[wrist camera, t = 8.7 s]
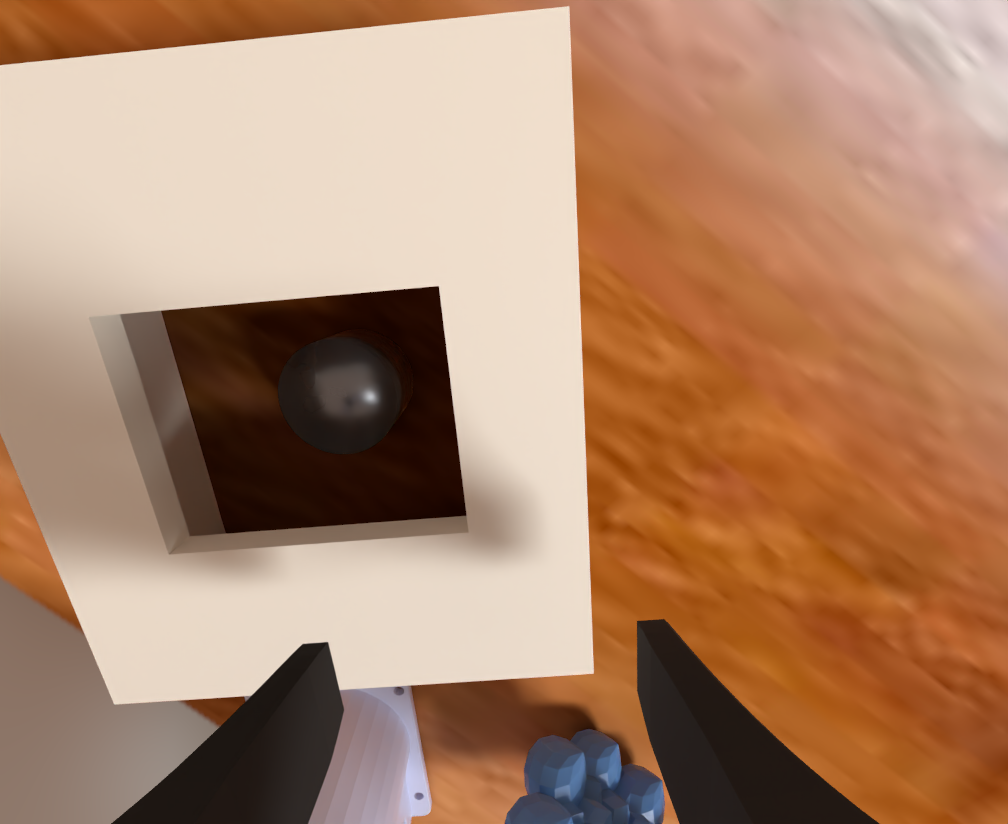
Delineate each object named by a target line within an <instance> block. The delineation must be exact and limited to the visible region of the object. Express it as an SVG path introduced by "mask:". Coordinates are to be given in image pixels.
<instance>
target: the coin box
mask: <svg viewBox="0 0 1008 824" xmlns="http://www.w3.org/2000/svg"><path fill="white" fill-rule="evenodd" d="M434 286H439V292H440V300H441V308H442V316H443V325H444V333H445V341H446V350H447V358H448V366H449V374H450V383H451V391H452V399H453V407H454V416H455V424H456V432H457V441H458V449H459V457H460V465H461V474H462V482H463V490H464V499H465V507H466V515H467V516H457V517H443V518H430V519H416V520H403V521H390V522H376V523H363V524H349V525H336V526H322V527H309V528H296V529H282V530H269V531H255V532H242V533H229V534H226V532H225V529H224V526H223V522H222V519H221V515H220V512H219V508H218V505H217V501H216V498H215V495H214V491H213V488H212V484H211V481H210V477H209V474H208V471H207V467H206V464H205V460H204V457H203V453H202V450H201V447H200V443H199V440H198V436H197V433H196V429H195V426H194V423H193V419H192V416H191V412H190V409H189V405H188V402H187V399H186V395H185V392H184V388H183V385H182V381H181V378H180V374H179V371H178V368H177V364H176V361H175V357H174V354H173V350H172V347H171V344H170V340H169V337H168V333H167V330H166V326H165V323H164V320H163V316H162V313H161V310H173V309H184V308H195V307H207V306H218V305H229V304H241V303H252V302H263V301H275V300H286V299H297V298H309V297H320V296H332V295H343V294H354V293H366V292H377V291H388V290H400V289H411V288H422V287H434ZM0 434H1V436H2V439H3V441H4V443H5V446H6V448H7V451H8V453H9V455H10V458H11V460H12V462H13V465H14V467H15V470H16V472H17V474H18V477H19V479H20V481H21V484H22V486H23V489H24V491H25V493H26V496H27V498H28V500H29V503H30V505H31V508H32V510H33V512H34V515H35V517H36V520H37V522H38V524H39V527H40V529H41V531H42V534H43V536H44V539H45V541H46V543H47V546H48V548H49V550H50V553H51V555H52V558H53V560H54V562H55V565H56V567H57V570H58V572H59V574H60V577H61V579H62V581H63V584H64V586H65V589H66V591H67V593H68V596H69V598H70V600H71V603H72V605H73V608H74V610H75V612H76V615H77V617H78V620H79V622H80V624H81V627H82V629H83V631H84V634H85V636H86V639H87V641H88V643H89V646H90V648H91V650H92V653H93V655H94V658H95V660H96V662H97V665H98V667H99V669H100V672H101V674H102V677H103V679H104V681H105V684H106V686H107V689H108V691H109V693H110V696H111V698H112V700H113V703H114V705H117V704H132V703H147V702H161V701H162V702H163V701H178V700H194V699H209V698H225V697H240V696H252V695H253V694H254V693H255V692H256V691H257V690H258V689H259V688H260V687H261V686H262V684H263V683H264V682H265V681H266V680H267V679H268V678H269V677H270V676H271V675H272V674H273V673H274V672H275V671H276V670H277V669H278V668H279V667H280V666H281V665H282V664H283V663H284V662H285V661H286V660H287V659H288V658H289V657H290V656H291V655H292V654H293V653H294V652H295V651H296V650H297V649H298V648H299V647H300V646H301V645H302V644H307V643H321V642H328V643H329V648H330V652H331V656H332V660H333V664H334V669H335V673H336V677H337V681H338V685H339V690H348V689H363V688H379V687H394V686H410V685H425V684H441V683H456V682H471V681H487V680H502V679H518V678H533V677H549V676H564V675H579V674H594V668H593V641H592V613H591V586H590V559H589V532H588V505H587V478H586V450H585V423H584V396H583V369H582V342H581V314H580V287H579V260H578V233H577V206H576V178H575V151H574V124H573V97H572V70H571V42H570V15H569V6H568V7H559V8H549V9H539V10H530V11H520V12H510V13H501V14H491V15H481V16H472V17H462V18H452V19H443V20H433V21H424V22H414V23H404V24H395V25H385V26H375V27H366V28H356V29H346V30H337V31H327V32H317V33H308V34H298V35H288V36H279V37H269V38H260V39H250V40H240V41H231V42H221V43H211V44H202V45H192V46H182V47H173V48H163V49H153V50H144V51H134V52H124V53H115V54H105V55H96V56H86V57H76V58H67V59H57V60H47V61H38V62H28V63H18V64H9V65H0Z"/></svg>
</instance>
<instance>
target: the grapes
mask: <svg viewBox="0 0 1008 824" xmlns="http://www.w3.org/2000/svg"><path fill="white" fill-rule="evenodd" d="M524 777H525V787H526V790H527V794H528V795H526V796H523V797H520V798H519V799H518V801H517V802H516V803H515V804H514V806H513V807H512V808H511V809H510V811H509V812H508V813H507V817H506V820H505V824H662V822H663V818H664V808H665V801H664V791H663V784H662V780H661V779H660V778H658V777H657V776H656V775H655V774H653V773H652V772H650V771H649V770H647V769H645V768H644V767H641V766H638V765H634V764H627V765H624V766H621V758H620V750H619V745H618V743H616V742H615V741H614V740H613V739H611V738H610V737H608V736H607V735H605V734H603V733H602V732H599V731H595V730H591V729H586V730H583V731H579V732H577V733H576V734H575V735H574V736H573V738H572V739H571V740H570V741H569V740H568V739H566V738H562V737H559V736H555V735H550V736H547V737H543V738H539V739H538V740H537V742H536V743H535V744H534V745H533V746H532V748H531V749H530V750H529V752H528V756H527V759H526V763H525V767H524Z"/></svg>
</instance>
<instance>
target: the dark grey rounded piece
mask: <svg viewBox="0 0 1008 824" xmlns="http://www.w3.org/2000/svg"><path fill="white" fill-rule="evenodd" d="M413 385H414V381H413V373H412V369H411V366H410V363H409V361H408V359H407V357H406V355H405V354H404V352H403V351H402V350H401V349H400V347H399V346H398V345H397V344H395V343H394V342H393V341H392V340H390V339H389V338H388V337H386V336H384V335H382V334H380V333H377V332H374V331H371V330H365V329H353V330H347V331H344V332H341V333H338V334H335V335H332V336H330V337H327V338H324V339H322V340H319V341H316V342H313V343H311V344H309V345H306V346H304V347H303V348H301V349H299V350H298V351H297V352H296V353H294V354H293V355H292V356H291V358H290V359H289V360H288V361H287V363H286V364H285V366H284V368H283V370H282V372H281V375H280V379H279V384H278V398H279V404H280V407H281V411H282V413H283V415H284V418H285V419H286V421H287V423H288V425H289V426H290V427H291V428H292V430H293V431H294V432H295V433H296V434H297V435H298V436H299V437H300V438H301V439H302V440H304V441H305V442H307V443H308V444H310V445H311V446H313V447H315V448H317V449H320V450H322V451H325V452H329V453H334V454H353V453H358V452H362V451H364V450H367V449H369V448H371V447H373V446H374V445H376V444H377V443H378V442H380V441H381V440H382V439H383V438H384V437H385V436H386V434H387V433H388V431H389V430H390V429H391V427H392V426H393V425H394V423H395V422H396V421H397V419H398V418H399V417H400V415H401V414H402V412H403V411H404V410H405V408H406V407H407V405H408V403H409V402H410V399H411V396H412V392H413Z"/></svg>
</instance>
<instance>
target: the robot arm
mask: <svg viewBox="0 0 1008 824" xmlns="http://www.w3.org/2000/svg"><path fill="white" fill-rule="evenodd" d="M398 687H401V688H398ZM637 691H638V695H639V700H640V704H641V708H642V712H643V716H644V720H645V724H646V727H647V731H648V735H649V739H650V742H651V745H652V748H653V751H654V754H655V756H656V759H657V762H658V765H659V768H660V770H661V773H662V776H663V779H664V782H665V784H666V787H667V790H668V793H669V795H670V798H671V801H672V804H673V807H674V809H675V812H676V815H677V818H678V820H679V823H680V824H879V823H878V822H877V821H875V820H874V819H873V818H871V817H870V816H869V815H867V814H866V813H865V812H863V811H862V810H861V809H859V808H858V807H857V806H856V805H854V804H853V803H852V802H851V801H849V800H848V799H847V798H846V797H844V796H843V795H842V794H841V793H839V792H838V791H837V790H836V789H835V788H833V787H832V786H831V785H830V784H828V783H827V782H826V781H825V780H824V779H823V778H821V777H820V776H819V775H818V774H817V773H816V772H814V771H813V770H812V769H811V768H810V767H808V766H807V765H806V764H805V763H804V762H803V761H802V760H800V759H799V758H798V757H797V756H796V755H795V754H794V753H793V752H791V751H790V750H789V749H788V748H787V747H786V746H785V745H784V744H783V743H782V742H781V741H779V740H778V739H777V738H776V737H775V736H774V735H773V734H772V733H771V732H770V731H769V730H768V729H767V728H766V727H765V726H764V725H763V724H761V723H760V722H759V721H758V720H757V719H756V718H755V717H754V716H753V715H752V714H751V713H750V712H749V711H748V710H747V709H746V708H745V707H744V706H743V705H742V704H741V703H740V702H739V701H738V700H737V699H736V698H735V697H734V696H733V695H732V694H731V692H730V691H729V690H728V689H727V688H726V687H725V686H724V685H723V684H722V683H721V682H720V681H719V680H718V679H717V678H716V677H715V676H714V675H713V674H712V672H711V671H710V670H709V669H708V668H707V667H706V666H705V665H704V664H703V663H702V661H701V660H700V659H699V658H698V657H697V656H696V655H695V654H694V652H693V651H692V650H691V649H690V648H689V647H688V646H687V644H686V643H685V642H684V641H683V640H682V639H681V637H680V636H679V635H678V634H677V633H676V632H675V630H674V629H673V628H672V627H671V626H670V624H669V623H668V622H666V621H665V620H664V619H661V620H647V621H637ZM244 698H245V701H246V702H245V703H244V704H243V705H242V706H241V707H240V708H239V709H238V710H237V711H236V712H235V713H234V714H233V715H232V716H231V717H230V718H229V719H228V720H227V721H226V722H225V723H224V724H223V725H222V726H221V727H220V728H218V729H217V730H216V731H215V732H214V733H213V734H212V735H211V736H210V737H209V738H208V739H207V740H206V741H205V742H204V743H202V744H201V746H199V747H198V748H197V749H196V750H195V751H194V752H193V753H192V754H191V755H190V756H189V757H188V758H187V759H185V760H184V761H183V762H182V763H181V764H180V765H179V766H178V767H177V768H176V769H175V770H174V771H173V772H171V773H170V774H169V775H168V776H167V777H166V778H165V779H164V780H162V781H161V782H160V783H159V784H158V785H157V786H155V787H154V788H153V789H152V790H151V791H150V792H149V793H147V794H146V795H145V796H144V797H143V798H142V799H140V800H139V801H138V802H137V803H136V804H134V805H133V806H132V807H131V808H130V809H128V810H127V811H126V812H125V813H124V814H122V815H121V816H120V817H119V818H117V819H116V820H115V821H114V822H113V823H111V824H411V818H412V816H424V815H427V814H429V813H430V811H431V805H432V800H431V795H430V789H429V784H428V778H427V773H426V767H425V762H424V756H423V750H422V745H421V739H420V734H419V728H418V723H417V717H416V712H415V706H414V701H413V695H412V690H411V685H410V686H394V687H379V688H363V689H348V690H339V685H338V681H337V677H336V673H335V669H334V664H333V660H332V656H331V652H330V648H329V643H328V642H321V643H307V644H302V645H301V646H300V647H299V648H298V649H297V650H296V651H295V652H294V653H293V654H292V655H291V656H290V657H289V658H288V659H287V660H286V661H285V662H284V663H283V664H282V665H281V666H280V667H279V668H278V669H277V670H276V671H275V672H274V673H273V674H272V675H271V676H270V677H269V678H268V679H267V680H266V681H265V682H264V683H263V684H262V686H261V687H260V688H259V689H258V690H257V691H256V692H255V693H254V694H253V695H252V696H244Z"/></svg>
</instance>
